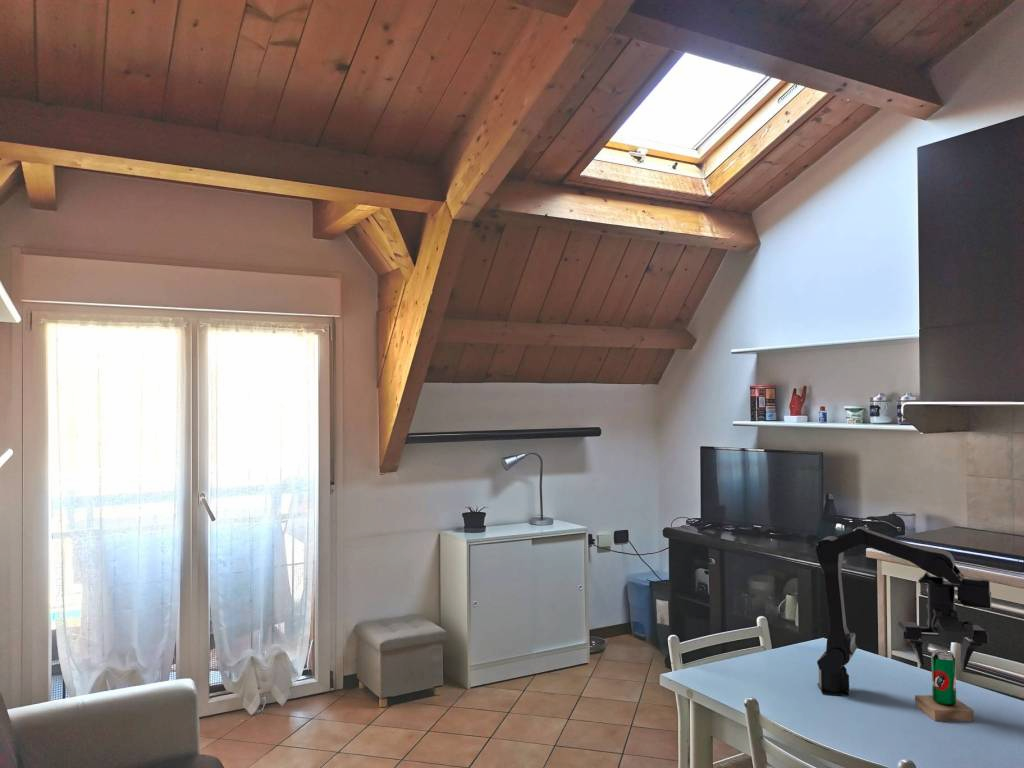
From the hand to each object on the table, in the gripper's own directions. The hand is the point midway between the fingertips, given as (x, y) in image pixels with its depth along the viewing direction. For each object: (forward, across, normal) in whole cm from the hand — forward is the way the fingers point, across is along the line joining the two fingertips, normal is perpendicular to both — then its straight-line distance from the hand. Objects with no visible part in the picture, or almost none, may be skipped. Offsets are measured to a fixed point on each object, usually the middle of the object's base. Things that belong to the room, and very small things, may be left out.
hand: (942, 667), depth 180 cm
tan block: (+11, 0, 0) cm, 11 cm away
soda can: (+8, 0, 0) cm, 9 cm away
